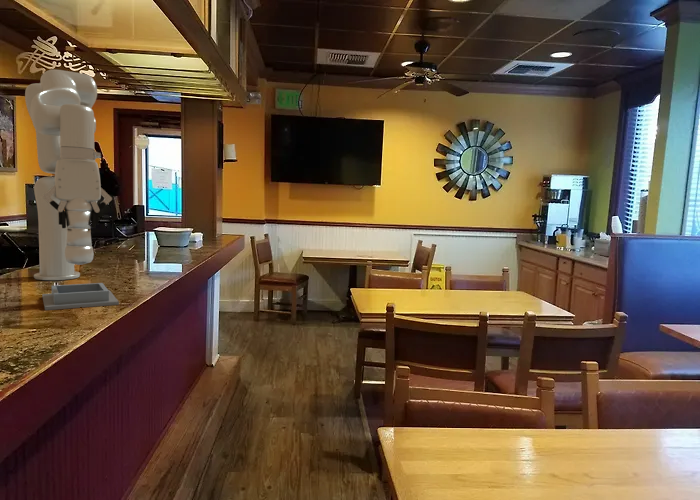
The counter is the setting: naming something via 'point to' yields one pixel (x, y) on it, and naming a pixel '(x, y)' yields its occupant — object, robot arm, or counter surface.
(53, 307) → the blue-grey square tray
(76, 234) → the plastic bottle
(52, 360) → the counter surface
